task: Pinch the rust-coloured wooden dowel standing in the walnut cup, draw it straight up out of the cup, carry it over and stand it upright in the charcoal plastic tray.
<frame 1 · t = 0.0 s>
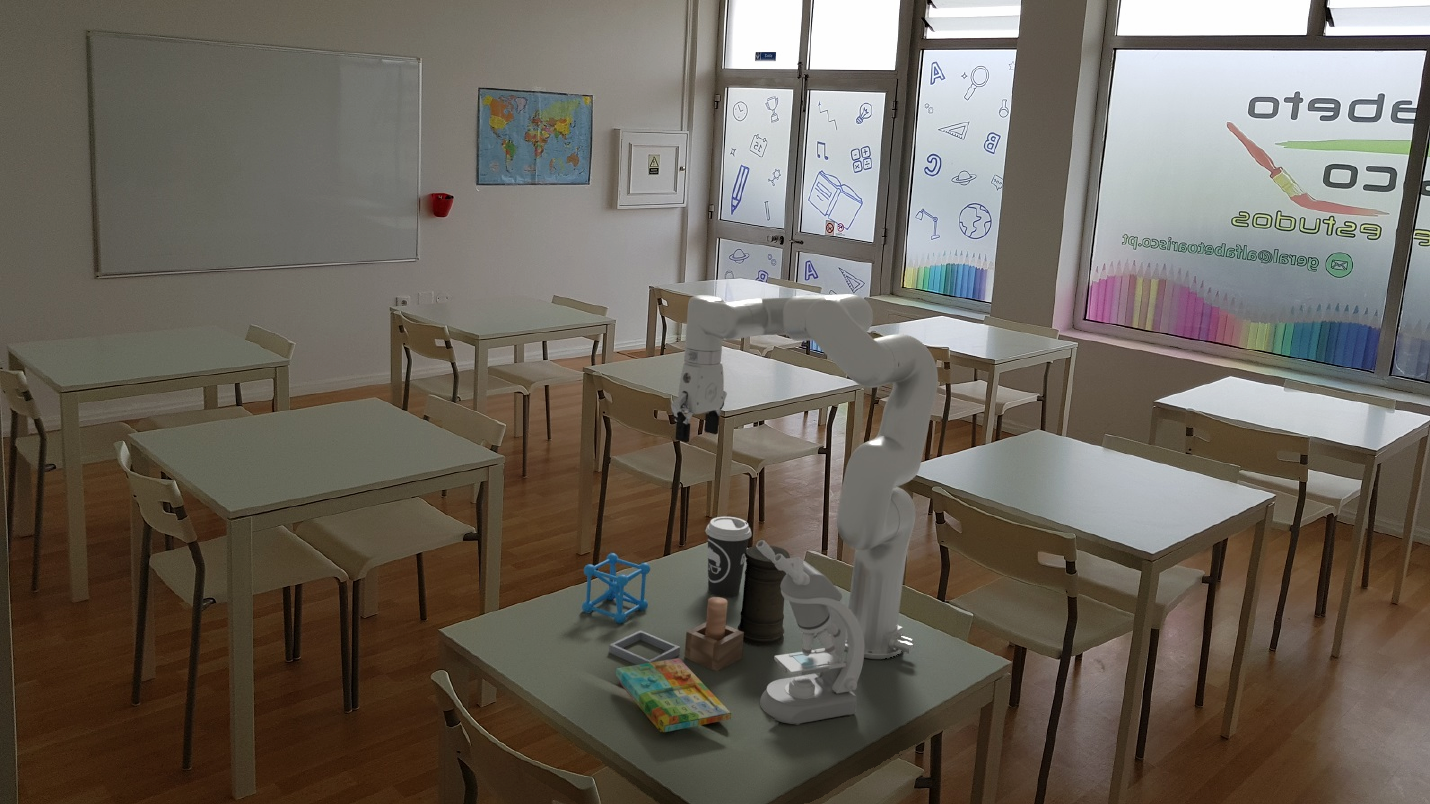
hand: (696, 436, 235), 31 cm above the table, tool pointing down, fingers open, 9 cm apart
puzzle game: (670, 711, 188), on the table
dowel: (713, 657, 204), point 1 cm above the table, touching pin cup
pin cup: (712, 662, 205), on the table
molecular structure: (614, 612, 223), on the table
tray: (644, 658, 204), on the table
coffee cup: (723, 591, 237), on the table
container: (759, 642, 215), on the table
microscope: (799, 710, 191), on the table
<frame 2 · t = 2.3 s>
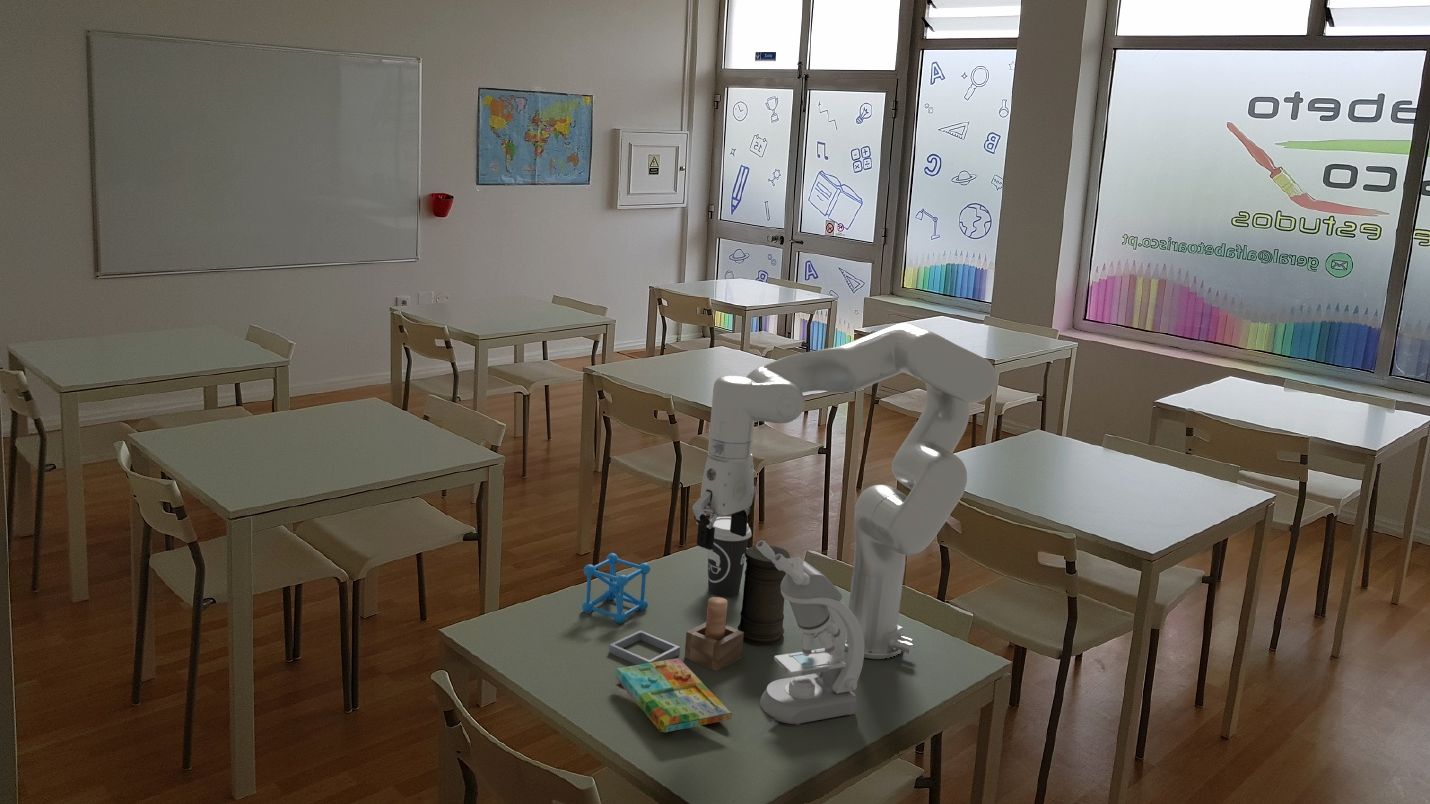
hand: (721, 540, 199), 24 cm above the table, tool pointing down, fingers open, 9 cm apart
nothing on the table moved.
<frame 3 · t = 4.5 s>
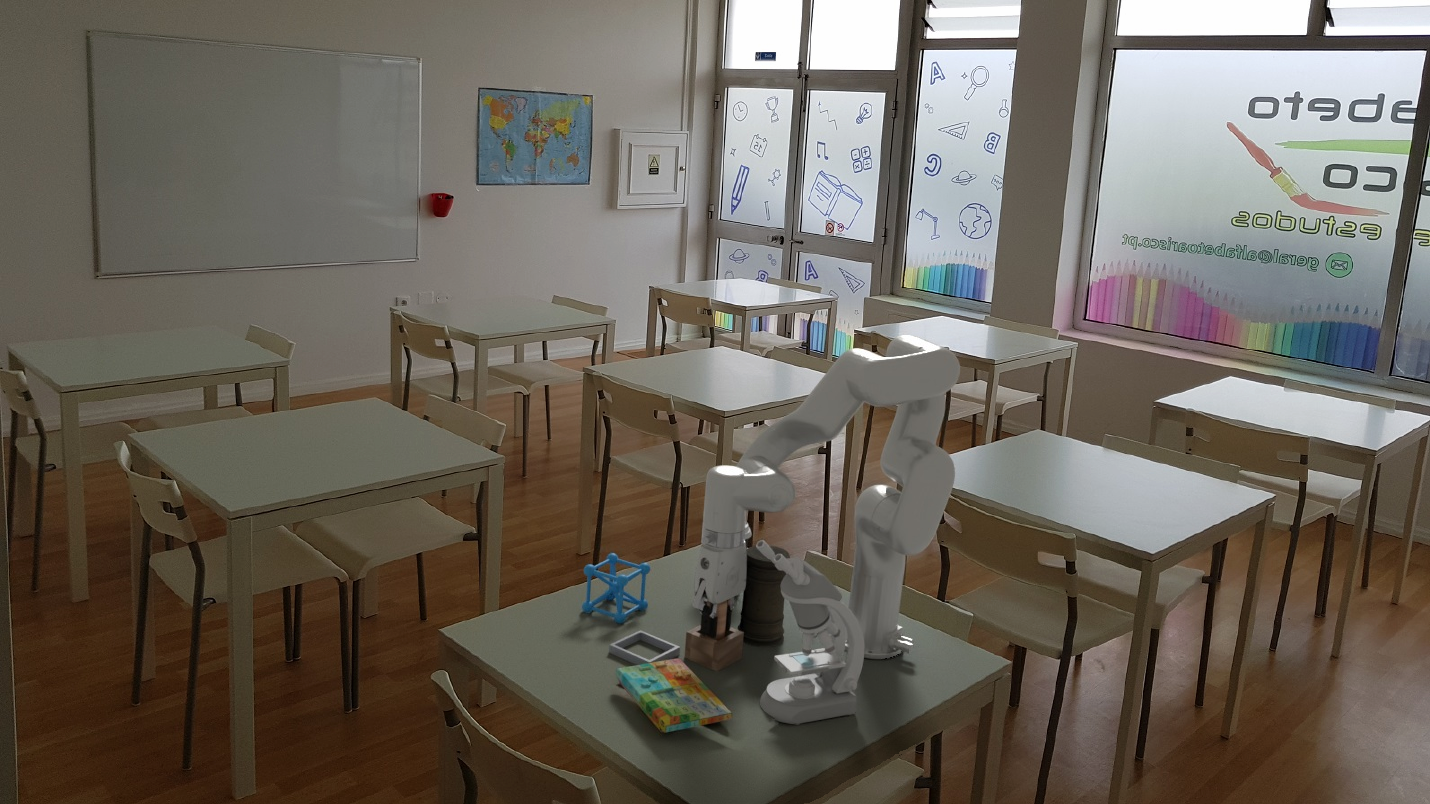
hand: (715, 630, 203), 6 cm above the table, tool pointing down, fingers closed on dowel, 3 cm apart
dowel: (713, 657, 204), point 1 cm above the table, touching gripper, pin cup
everything else where it was.
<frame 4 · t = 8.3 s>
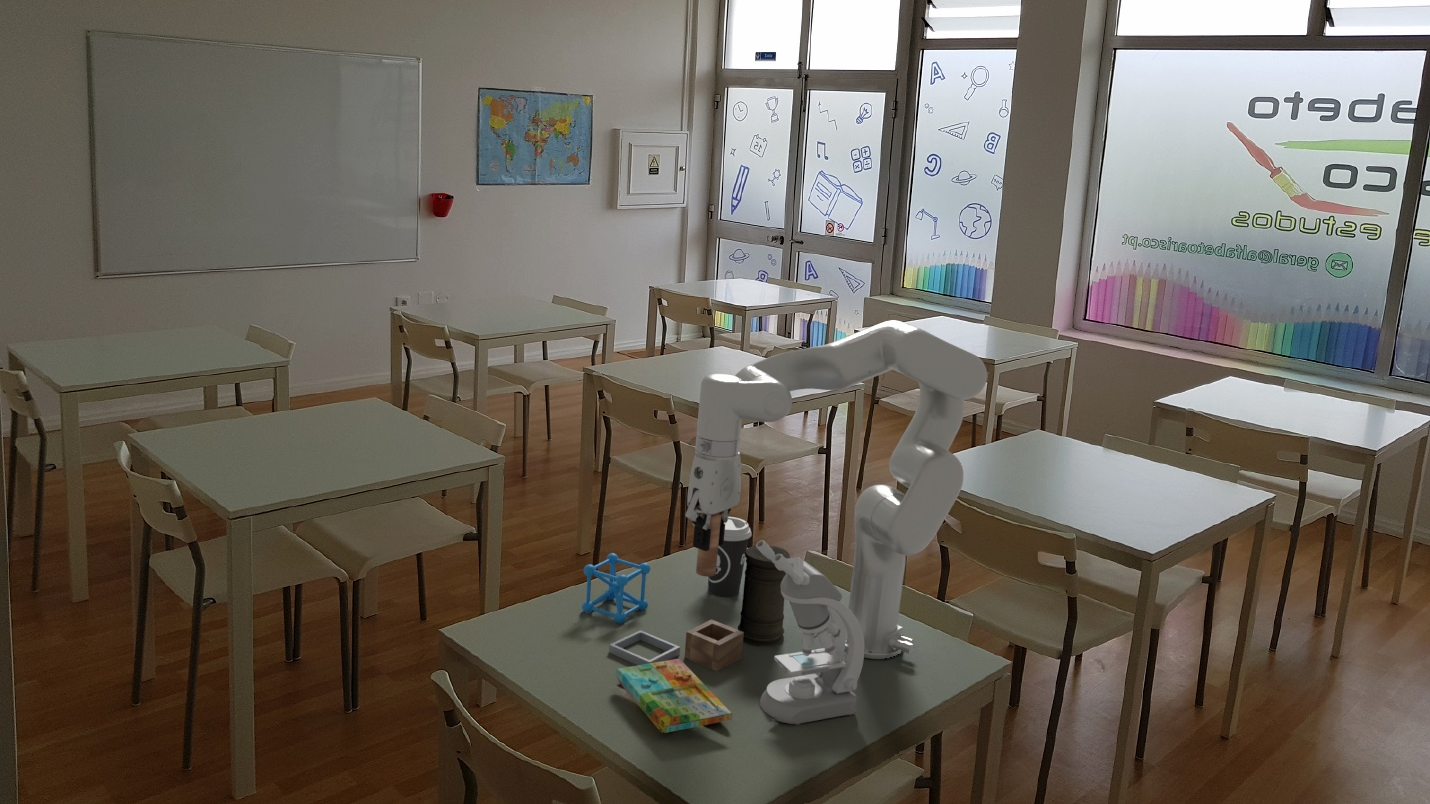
hand: (708, 544, 199), 23 cm above the table, tool pointing down, fingers closed on dowel, 3 cm apart
dowel: (705, 572, 200), point 17 cm above the table, touching gripper
everything else where it was.
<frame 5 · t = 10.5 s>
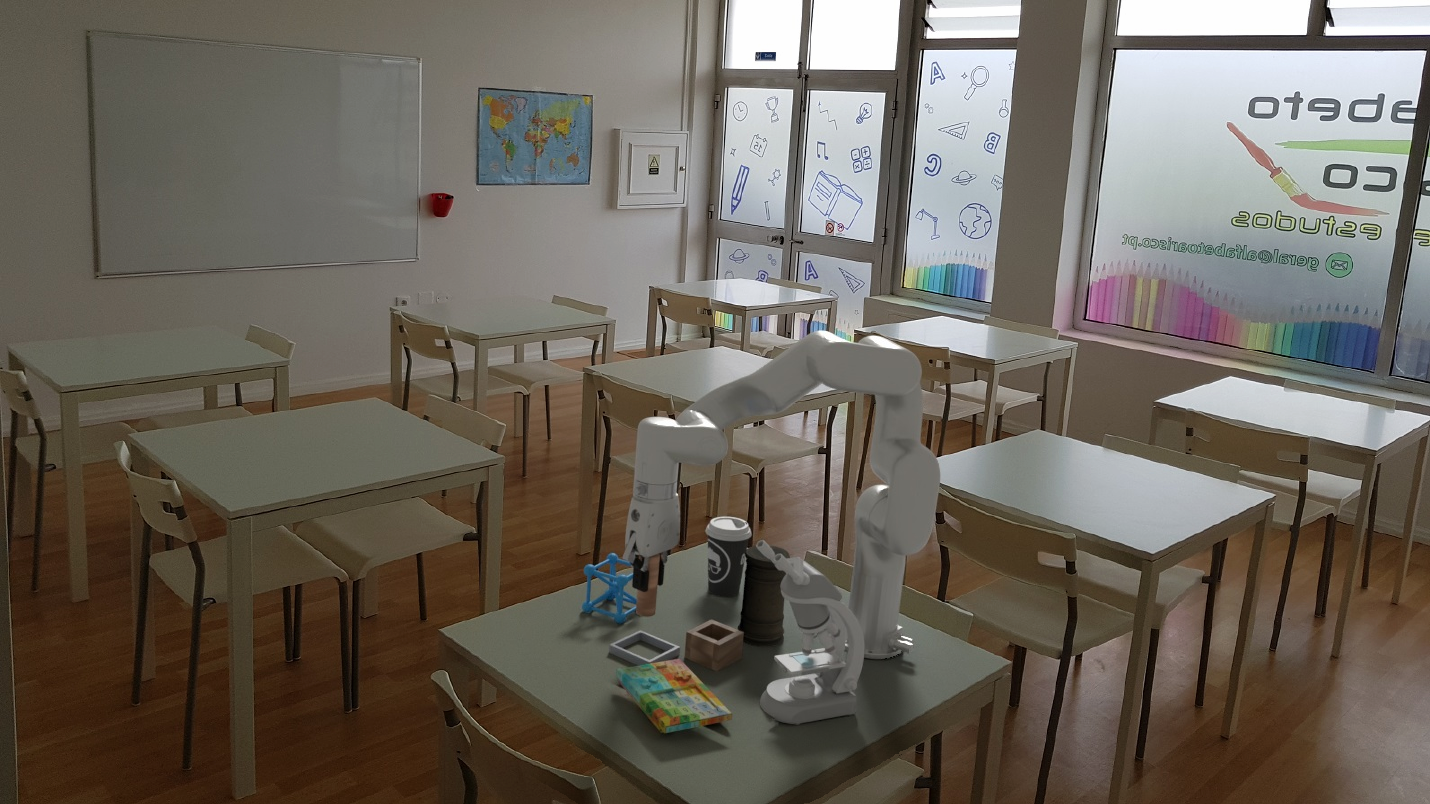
hand: (647, 585, 201), 14 cm above the table, tool pointing down, fingers closed on dowel, 3 cm apart
dowel: (645, 612, 202), point 9 cm above the table, touching gripper
everything else where it was.
when the fingers open (7 cm above the table, at t = 12.5 s): dowel drops 1 cm, resting on tray.
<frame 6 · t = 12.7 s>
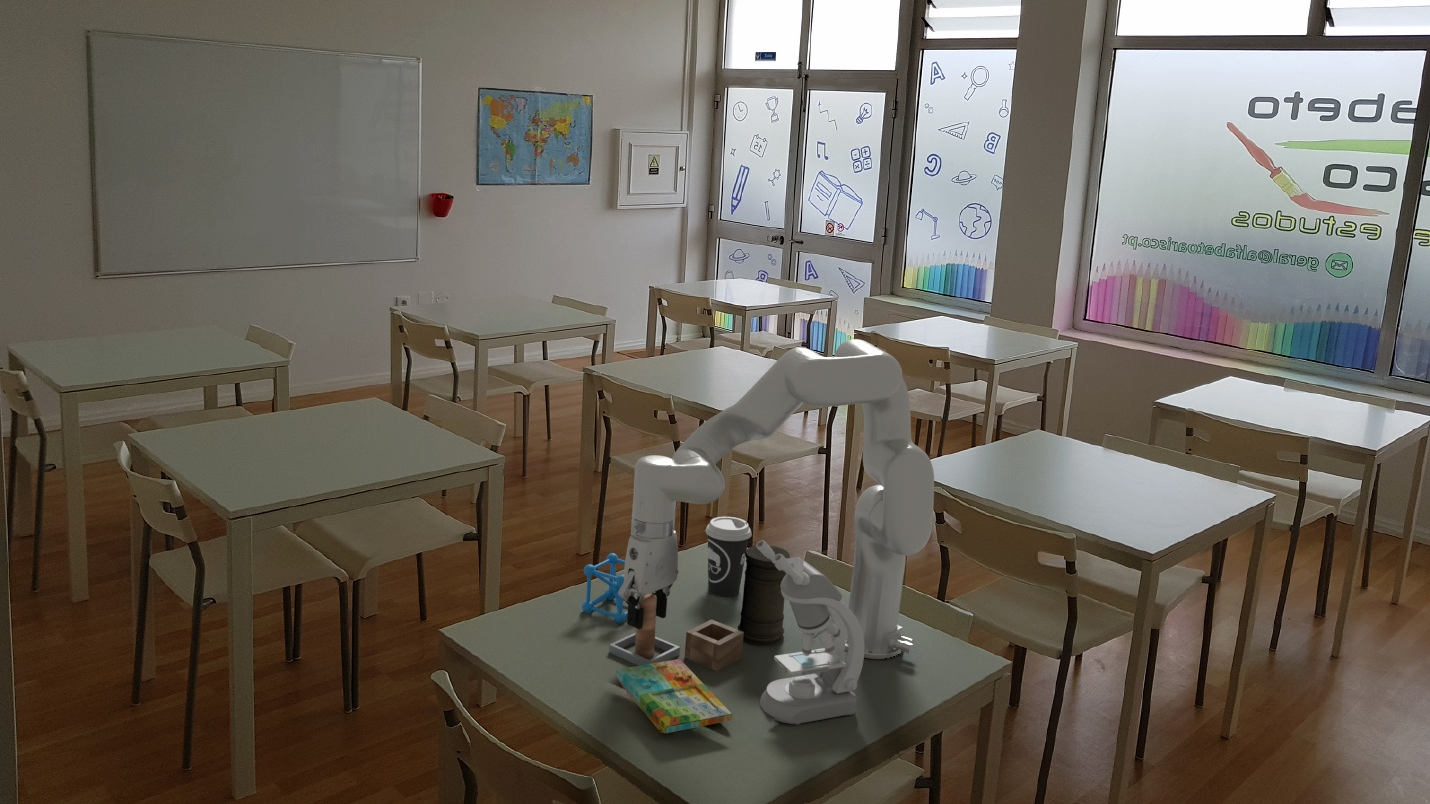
hand: (646, 620, 202), 8 cm above the table, tool pointing down, fingers open, 5 cm apart
dowel: (644, 654, 204), point 1 cm above the table, touching tray
everything else where it was.
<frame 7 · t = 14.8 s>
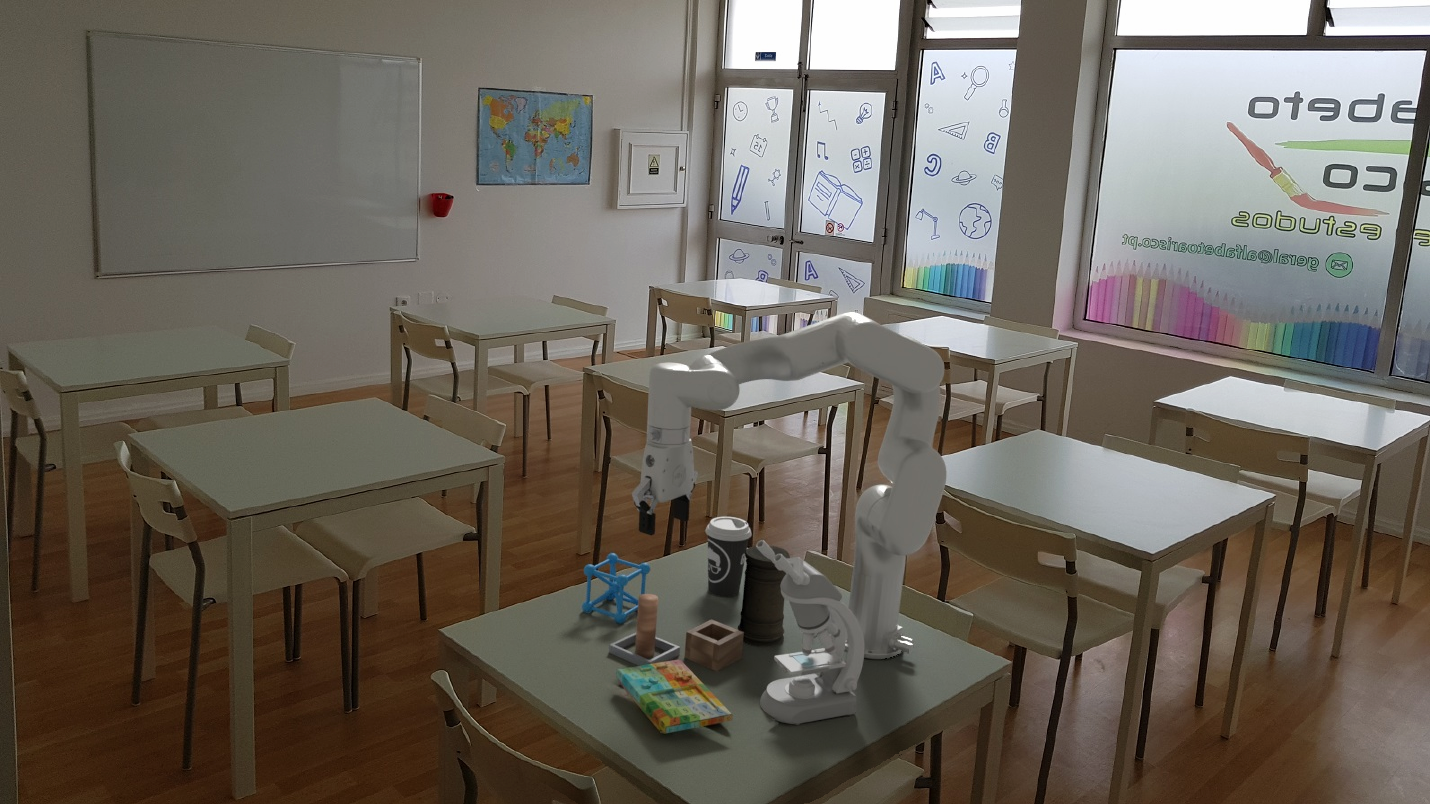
hand: (664, 526, 201), 24 cm above the table, tool pointing down, fingers open, 9 cm apart
nothing on the table moved.
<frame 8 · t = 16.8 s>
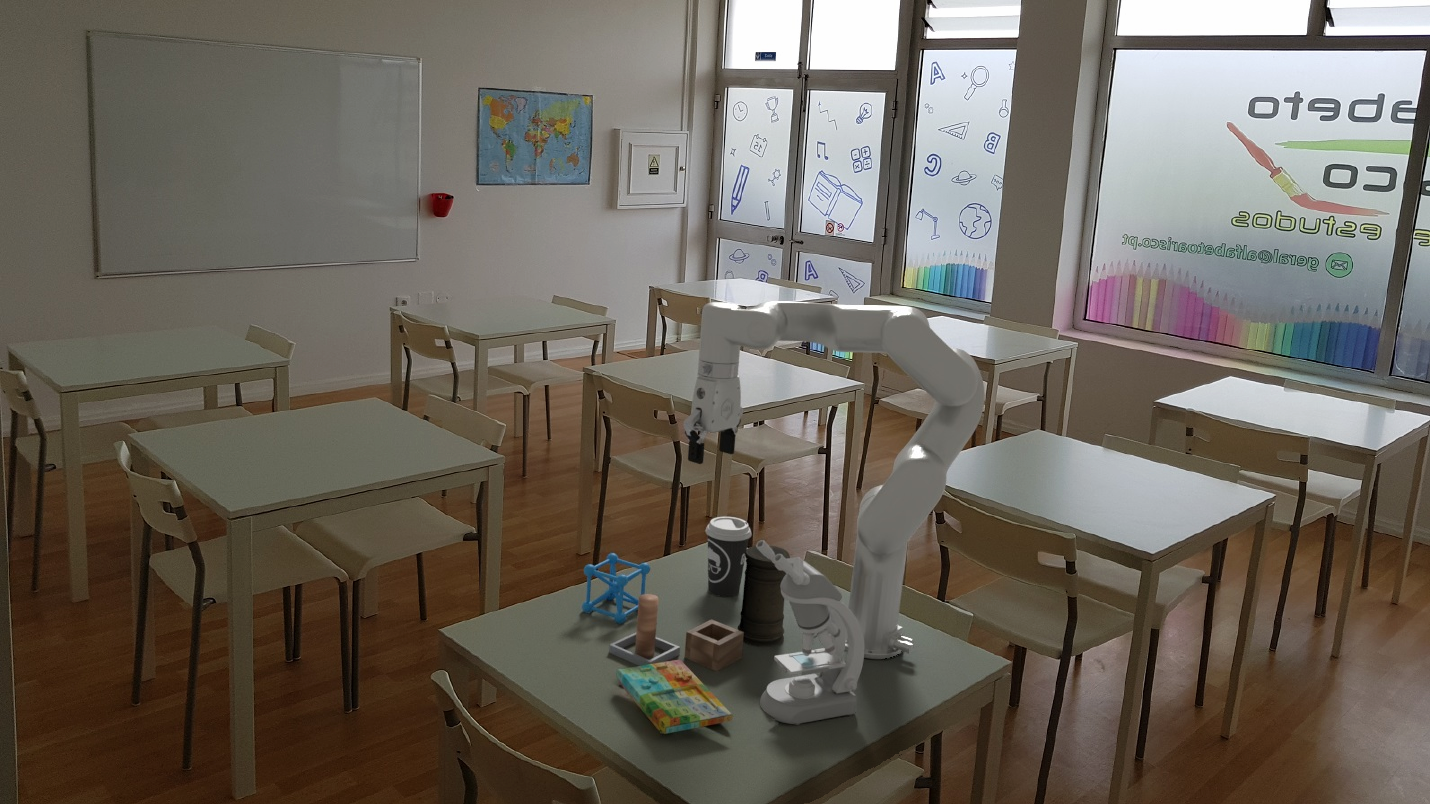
hand: (711, 457, 214), 33 cm above the table, tool pointing down, fingers open, 9 cm apart
nothing on the table moved.
at the end: dowel 0.0 cm off-centre on the tray, point 0.8 cm above the tray's base; dowel tilted 0°; the gripper is holding nothing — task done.
